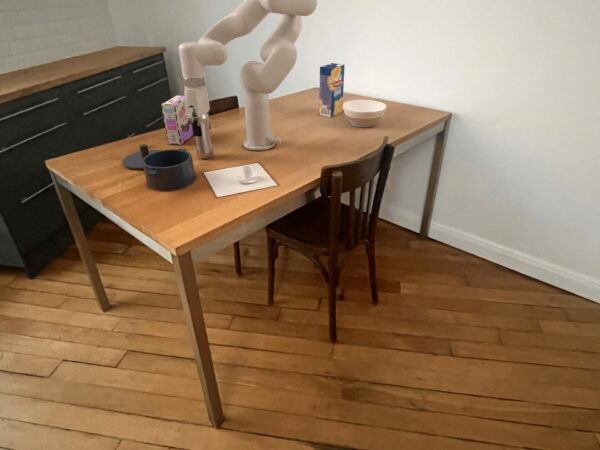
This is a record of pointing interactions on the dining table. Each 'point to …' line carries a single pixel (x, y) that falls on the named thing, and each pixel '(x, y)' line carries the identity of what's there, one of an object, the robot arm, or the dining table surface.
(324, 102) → the blue cardboard box
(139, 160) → the lid
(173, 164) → the dark blue cooking pot
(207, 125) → the metal water bottle
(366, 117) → the bowl
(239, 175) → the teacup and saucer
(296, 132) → the dining table surface
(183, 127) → the candy box
